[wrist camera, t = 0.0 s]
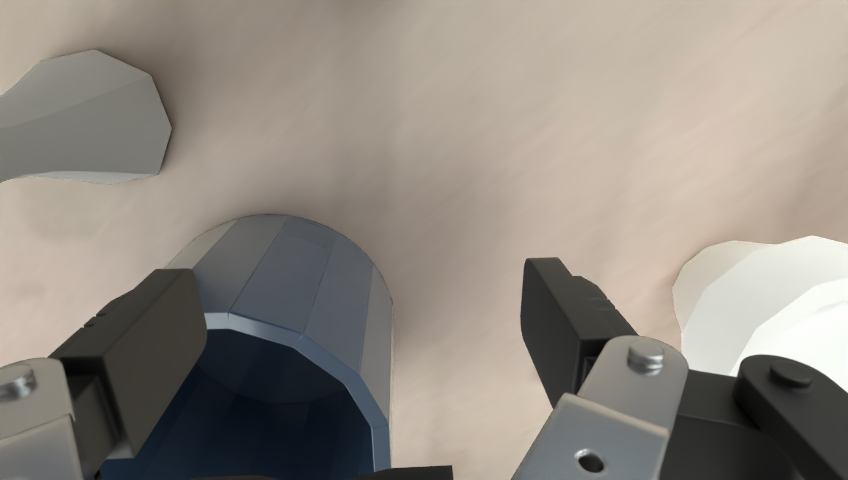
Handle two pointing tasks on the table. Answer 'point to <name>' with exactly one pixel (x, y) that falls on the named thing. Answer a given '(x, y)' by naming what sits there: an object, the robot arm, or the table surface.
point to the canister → (279, 361)
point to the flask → (83, 122)
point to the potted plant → (765, 305)
